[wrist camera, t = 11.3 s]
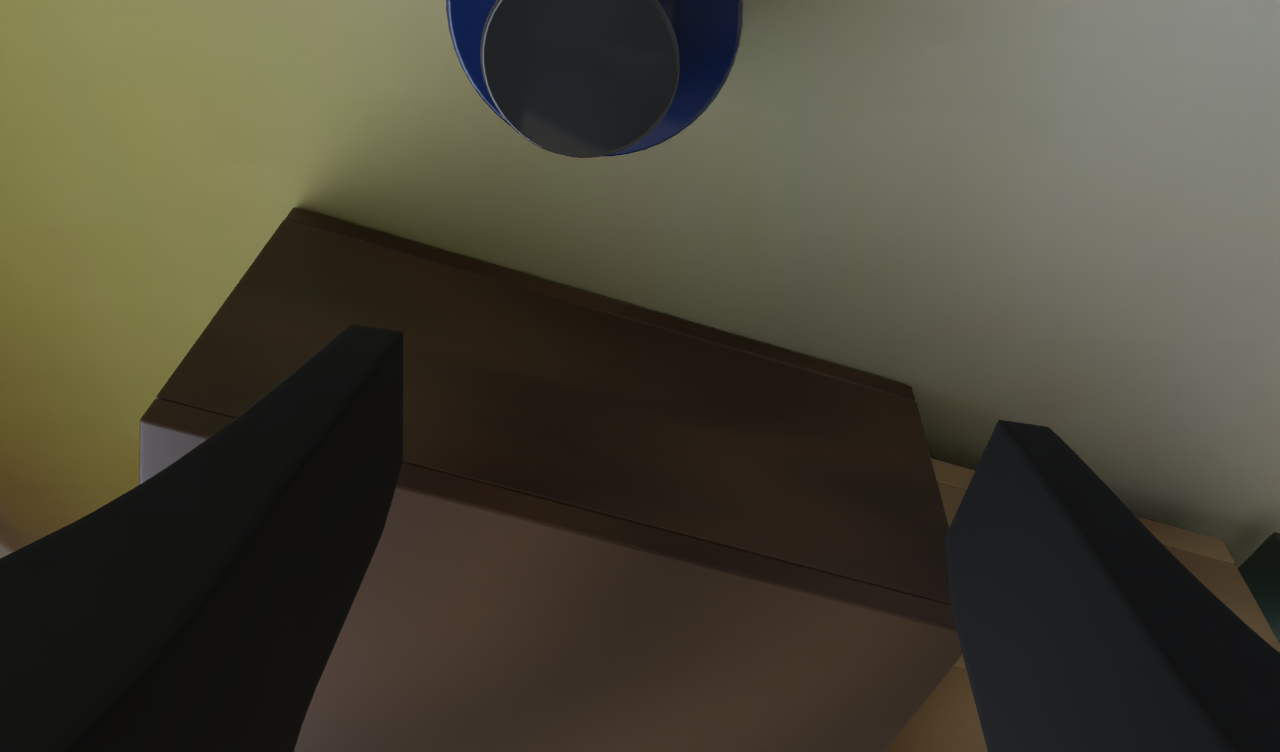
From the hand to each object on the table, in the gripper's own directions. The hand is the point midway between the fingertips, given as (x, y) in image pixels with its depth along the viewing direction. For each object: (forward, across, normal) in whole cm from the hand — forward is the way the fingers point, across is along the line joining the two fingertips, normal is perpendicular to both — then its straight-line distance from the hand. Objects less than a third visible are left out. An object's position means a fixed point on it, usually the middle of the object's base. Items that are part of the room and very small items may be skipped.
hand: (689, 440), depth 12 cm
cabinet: (+9, +2, +11) cm, 14 cm away
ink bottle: (+9, +2, -4) cm, 10 cm away
